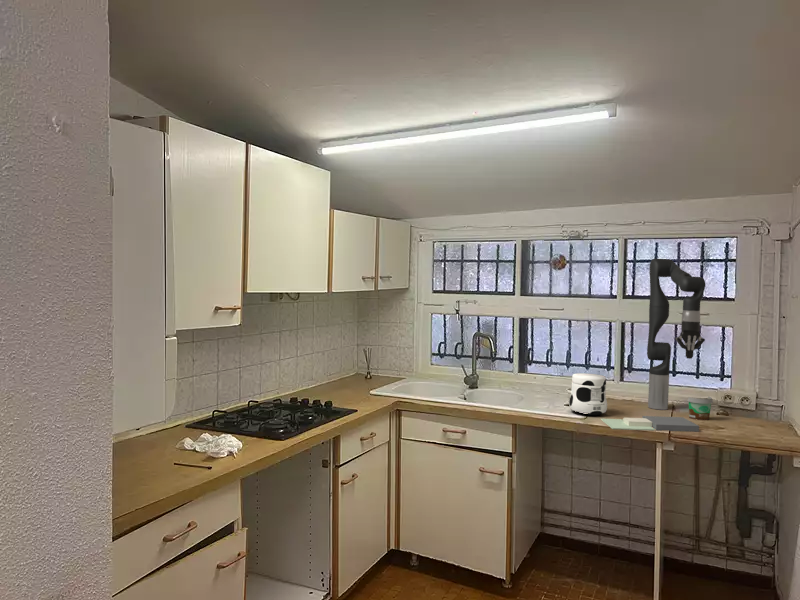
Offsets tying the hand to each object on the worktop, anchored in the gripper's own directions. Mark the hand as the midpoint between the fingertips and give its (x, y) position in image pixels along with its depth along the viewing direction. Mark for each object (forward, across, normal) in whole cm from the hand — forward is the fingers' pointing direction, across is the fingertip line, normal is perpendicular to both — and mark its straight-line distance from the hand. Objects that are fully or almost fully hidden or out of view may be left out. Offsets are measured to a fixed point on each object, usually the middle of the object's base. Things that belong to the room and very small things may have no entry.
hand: (689, 358), depth 271 cm
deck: (+29, +12, +11) cm, 33 cm away
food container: (+29, -10, -6) cm, 31 cm away
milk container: (+29, +42, -10) cm, 52 cm away
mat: (+29, +30, +11) cm, 44 cm away
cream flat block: (+28, +26, +11) cm, 40 cm away
